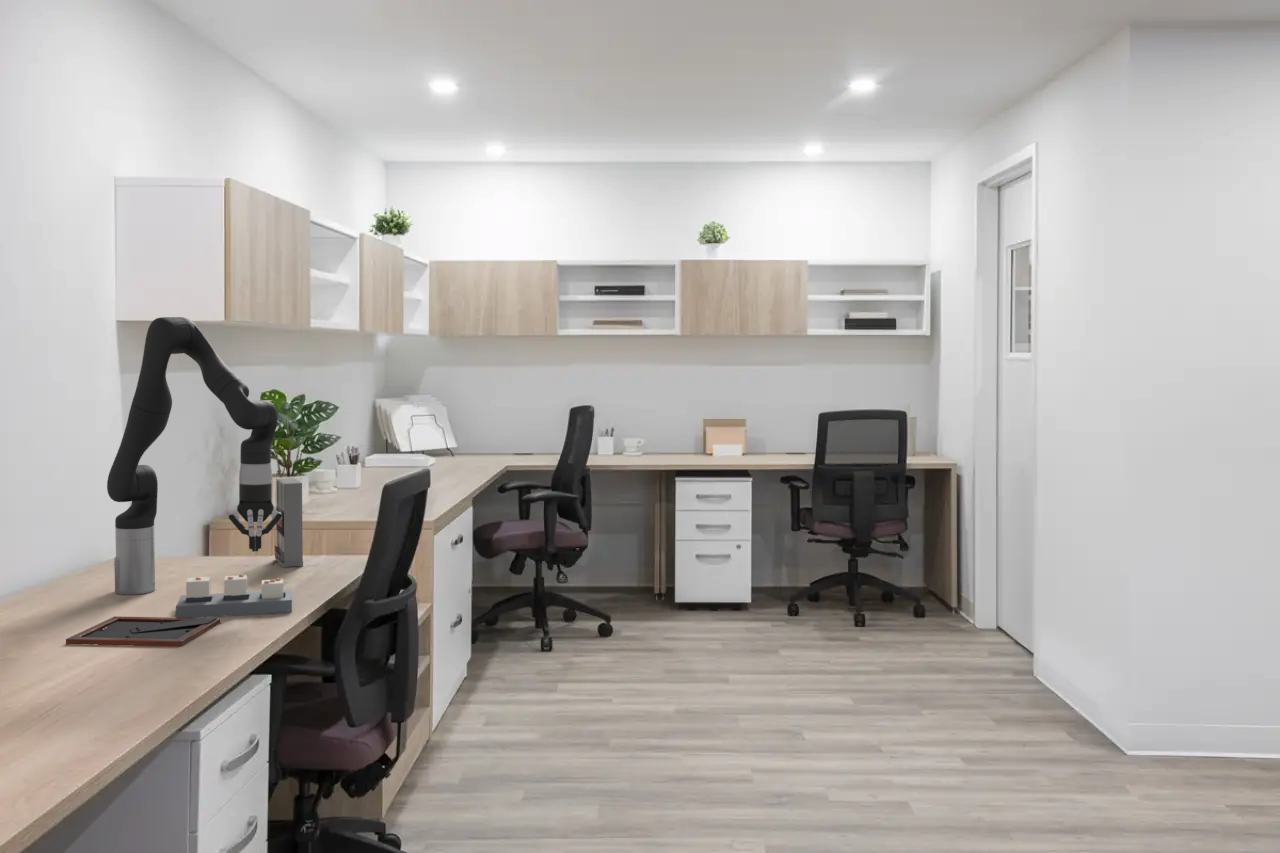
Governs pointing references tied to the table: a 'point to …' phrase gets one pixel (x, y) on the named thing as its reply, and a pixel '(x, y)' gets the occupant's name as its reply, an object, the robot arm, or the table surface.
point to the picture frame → (145, 631)
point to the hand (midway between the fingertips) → (255, 550)
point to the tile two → (235, 585)
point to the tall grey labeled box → (289, 523)
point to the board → (232, 605)
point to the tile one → (198, 587)
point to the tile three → (272, 588)
